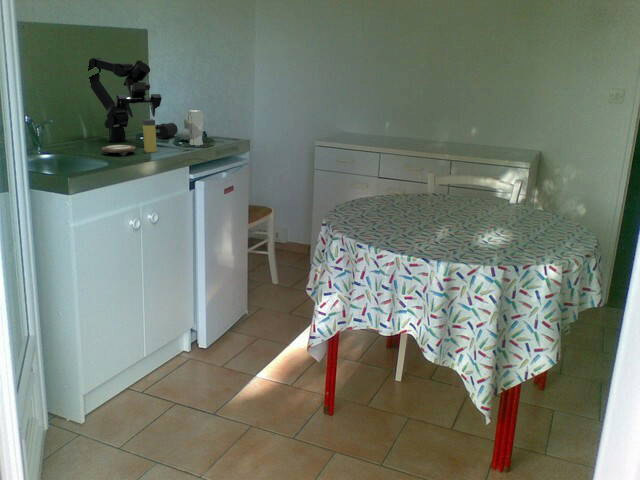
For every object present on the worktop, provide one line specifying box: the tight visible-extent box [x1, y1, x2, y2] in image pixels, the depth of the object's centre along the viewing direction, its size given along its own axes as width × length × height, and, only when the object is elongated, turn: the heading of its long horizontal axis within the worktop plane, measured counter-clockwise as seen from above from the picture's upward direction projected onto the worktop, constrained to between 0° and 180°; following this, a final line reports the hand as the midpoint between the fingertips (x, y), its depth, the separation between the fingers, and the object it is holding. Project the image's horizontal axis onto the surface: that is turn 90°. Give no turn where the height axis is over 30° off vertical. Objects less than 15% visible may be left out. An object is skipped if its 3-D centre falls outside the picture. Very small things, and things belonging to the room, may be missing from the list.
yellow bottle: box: [142, 118, 158, 153], centre depth 265 cm, size 4×4×13 cm
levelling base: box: [101, 144, 136, 157], centre depth 260 cm, size 13×13×3 cm
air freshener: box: [178, 118, 204, 140], centre depth 295 cm, size 11×8×10 cm
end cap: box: [155, 122, 178, 140], centre depth 302 cm, size 10×7×7 cm
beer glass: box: [186, 109, 204, 147], centre depth 283 cm, size 7×7×15 cm
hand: (143, 116), depth 269 cm, fingers open, 9 cm apart
